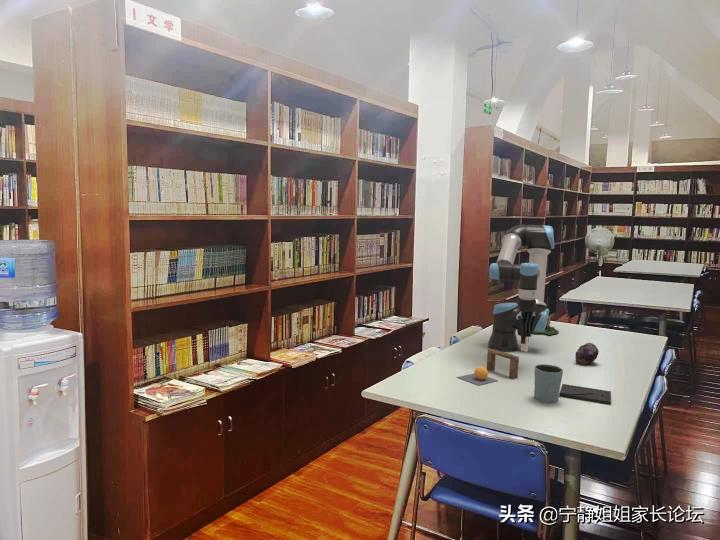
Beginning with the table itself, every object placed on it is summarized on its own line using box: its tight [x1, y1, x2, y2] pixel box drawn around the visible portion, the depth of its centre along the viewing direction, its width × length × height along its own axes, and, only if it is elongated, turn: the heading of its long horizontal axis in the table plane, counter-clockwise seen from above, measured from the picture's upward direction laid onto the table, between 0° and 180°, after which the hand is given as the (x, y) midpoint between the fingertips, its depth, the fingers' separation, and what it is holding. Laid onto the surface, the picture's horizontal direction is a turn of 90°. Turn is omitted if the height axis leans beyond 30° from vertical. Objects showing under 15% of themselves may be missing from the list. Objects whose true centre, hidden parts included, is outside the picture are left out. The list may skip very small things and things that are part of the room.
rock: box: [574, 342, 600, 366], centre depth 251 cm, size 12×9×10 cm
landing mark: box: [456, 373, 499, 387], centre depth 222 cm, size 12×12×1 cm
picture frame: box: [559, 383, 612, 406], centre depth 206 cm, size 13×2×18 cm
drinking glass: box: [533, 363, 564, 404], centre depth 200 cm, size 10×10×12 cm
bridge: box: [486, 348, 520, 380], centre depth 230 cm, size 3×14×9 cm, turn 35°
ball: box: [473, 366, 489, 380], centre depth 221 cm, size 6×6×6 cm
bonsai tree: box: [532, 290, 559, 336], centre depth 311 cm, size 35×24×32 cm
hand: (524, 350), depth 238 cm, fingers closed
